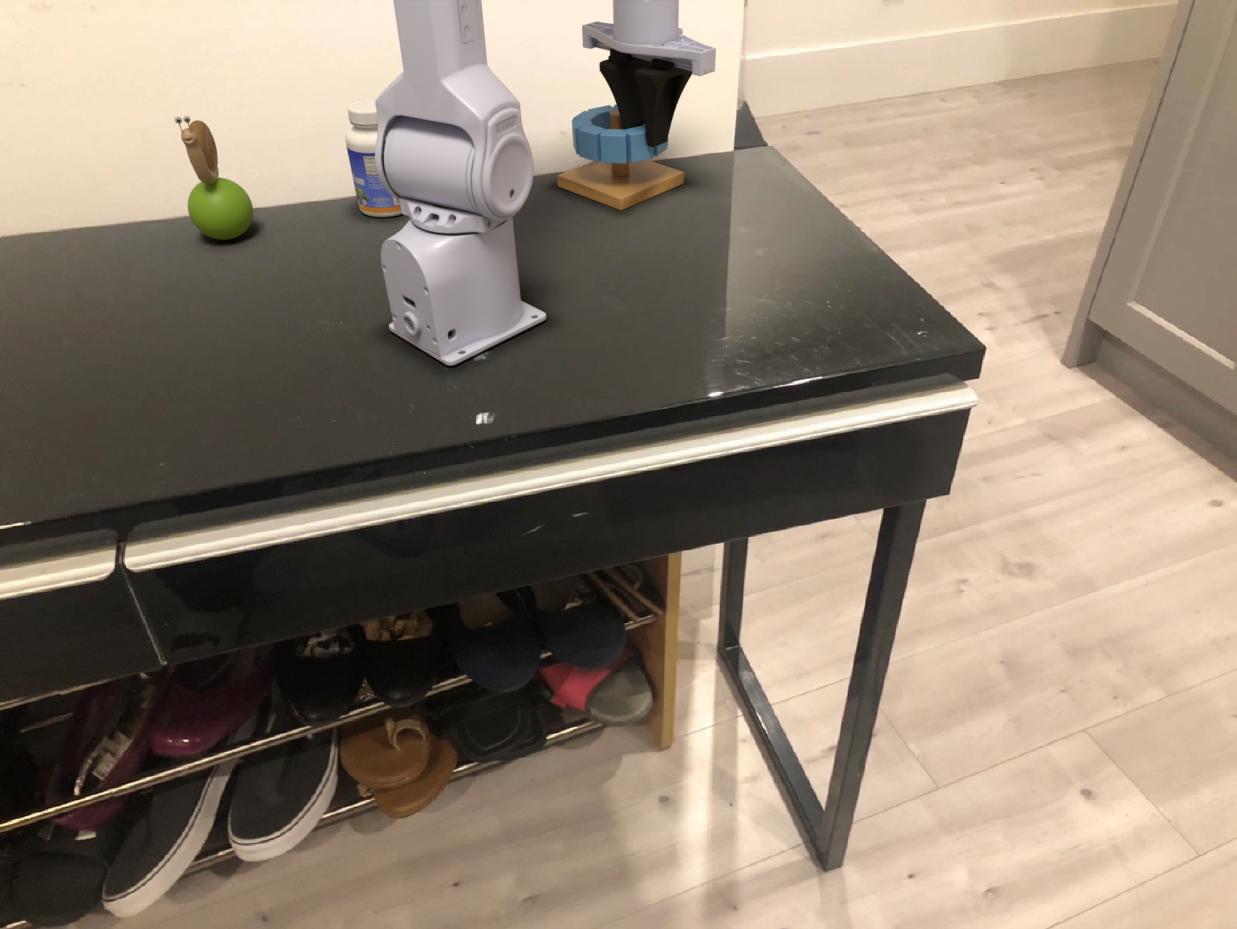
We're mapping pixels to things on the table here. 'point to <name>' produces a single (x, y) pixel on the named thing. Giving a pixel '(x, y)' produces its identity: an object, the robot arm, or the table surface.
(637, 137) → the segmented ring
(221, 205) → the snail figurine
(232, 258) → the table surface
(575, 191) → the peg
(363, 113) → the pill bottle
